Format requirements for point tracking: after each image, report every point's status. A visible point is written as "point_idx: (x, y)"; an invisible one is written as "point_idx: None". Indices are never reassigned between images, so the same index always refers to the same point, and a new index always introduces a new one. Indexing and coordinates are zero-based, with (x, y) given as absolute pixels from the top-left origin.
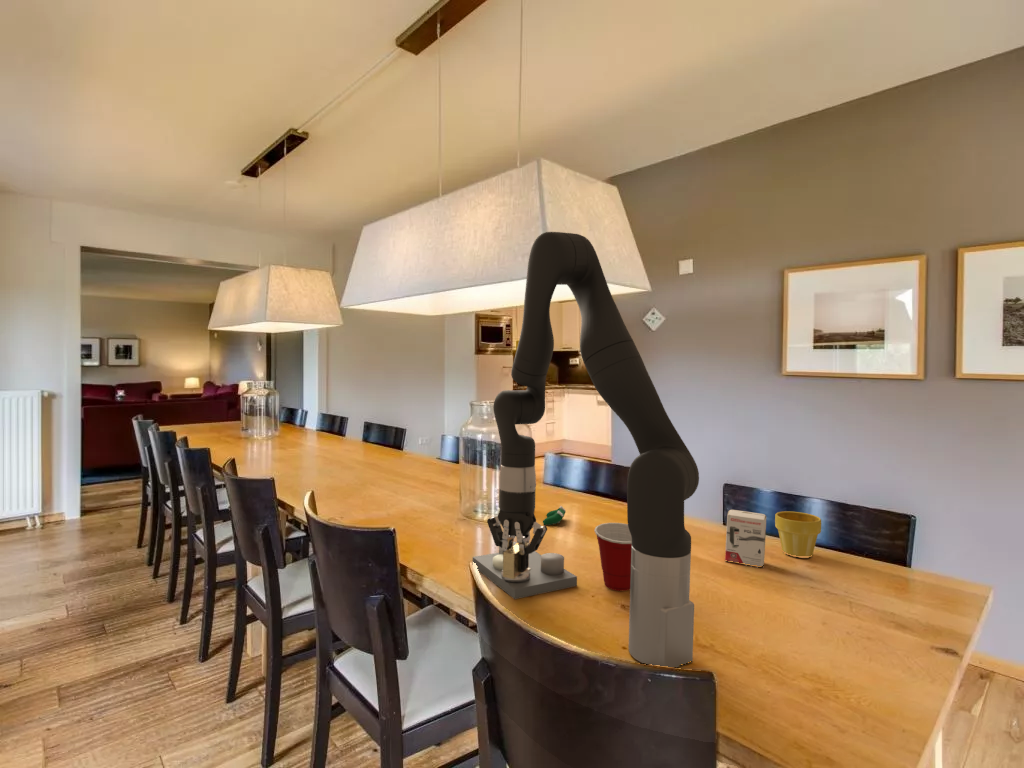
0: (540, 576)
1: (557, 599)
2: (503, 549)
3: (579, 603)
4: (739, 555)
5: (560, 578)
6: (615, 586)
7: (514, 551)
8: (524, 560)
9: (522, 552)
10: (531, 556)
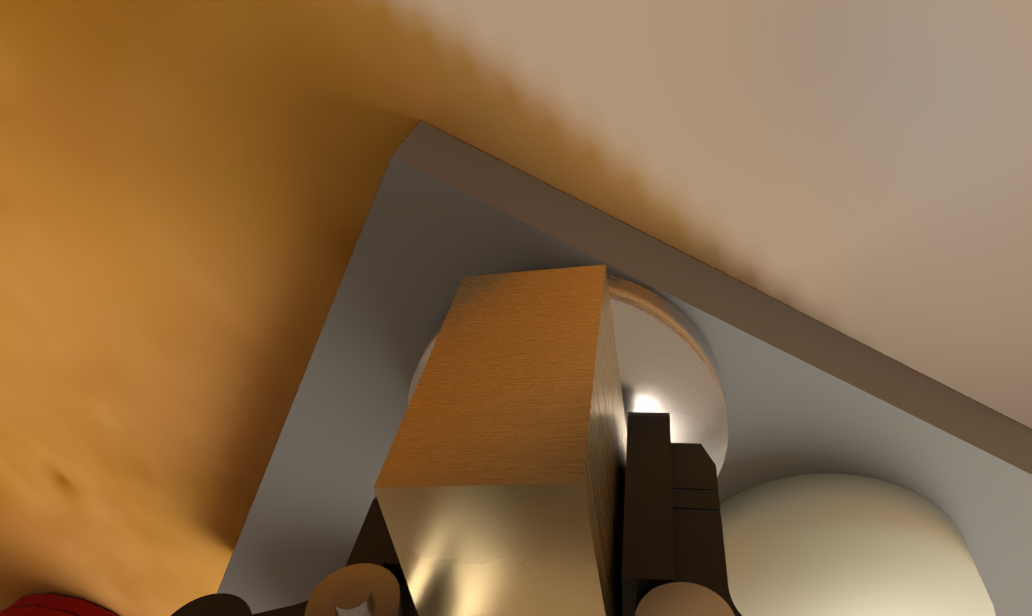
0: None
1: (168, 324)
2: (704, 602)
3: (22, 348)
4: None
5: (261, 545)
6: (18, 613)
7: (456, 578)
8: (373, 521)
9: (334, 593)
10: None
